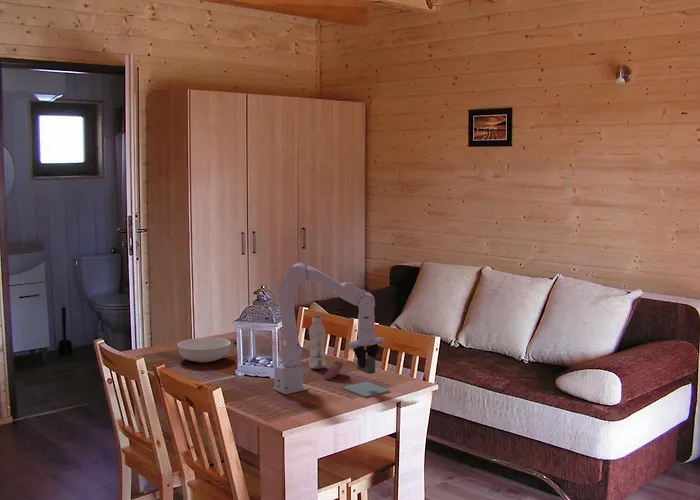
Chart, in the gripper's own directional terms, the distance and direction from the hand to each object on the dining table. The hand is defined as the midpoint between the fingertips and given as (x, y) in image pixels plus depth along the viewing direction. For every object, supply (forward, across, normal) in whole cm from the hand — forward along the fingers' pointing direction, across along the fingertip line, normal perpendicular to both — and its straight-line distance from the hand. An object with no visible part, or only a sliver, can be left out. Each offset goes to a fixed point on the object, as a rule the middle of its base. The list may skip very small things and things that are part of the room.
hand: (366, 366), depth 267 cm
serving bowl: (+9, -27, +70) cm, 76 cm away
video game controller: (+9, +1, +20) cm, 22 cm away
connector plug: (+1, 0, +1) cm, 2 cm away
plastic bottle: (+9, +2, +33) cm, 34 cm away
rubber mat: (+8, 0, 0) cm, 8 cm away
